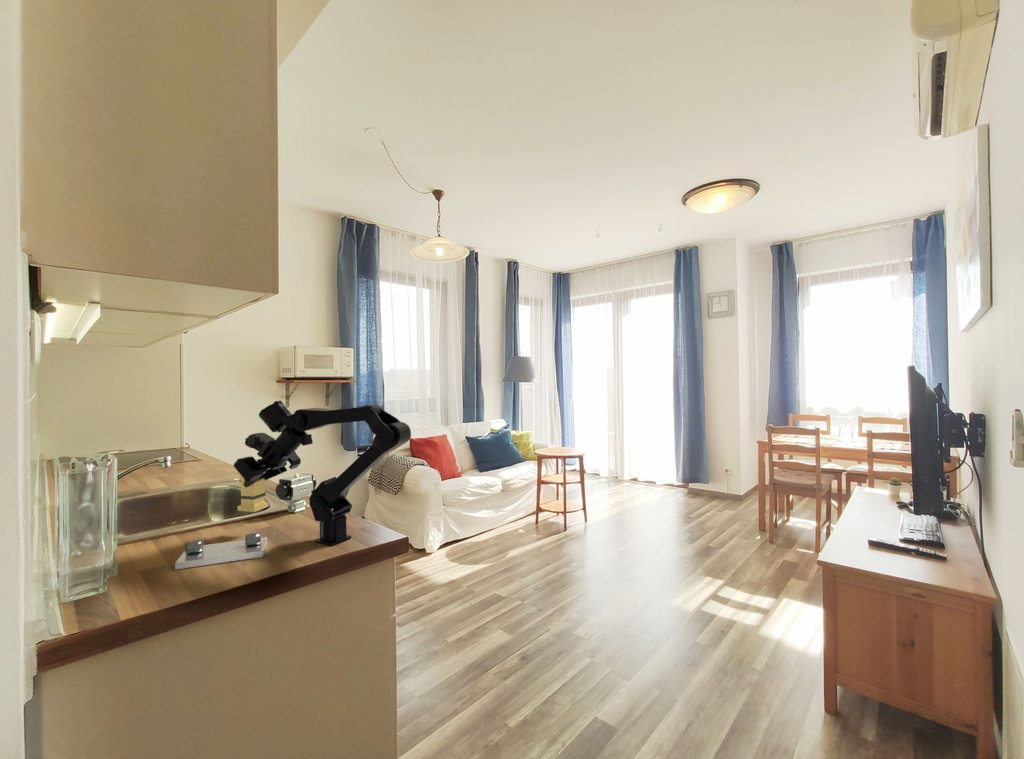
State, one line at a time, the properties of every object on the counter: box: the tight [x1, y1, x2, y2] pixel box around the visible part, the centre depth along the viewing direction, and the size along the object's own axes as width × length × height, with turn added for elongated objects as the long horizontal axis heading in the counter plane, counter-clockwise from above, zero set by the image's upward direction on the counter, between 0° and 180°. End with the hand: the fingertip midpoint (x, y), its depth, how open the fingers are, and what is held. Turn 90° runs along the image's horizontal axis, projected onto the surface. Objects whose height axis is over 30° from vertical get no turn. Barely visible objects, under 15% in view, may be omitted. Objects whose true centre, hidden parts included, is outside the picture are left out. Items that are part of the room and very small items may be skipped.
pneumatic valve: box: [275, 473, 317, 514], centre depth 142 cm, size 6×12×12 cm, turn 156°
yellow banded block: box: [236, 473, 270, 513], centre depth 122 cm, size 5×5×10 cm
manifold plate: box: [174, 532, 268, 570], centre depth 107 cm, size 17×10×4 cm, turn 113°
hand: (251, 484), depth 122 cm, fingers closed on yellow banded block, 4 cm apart
